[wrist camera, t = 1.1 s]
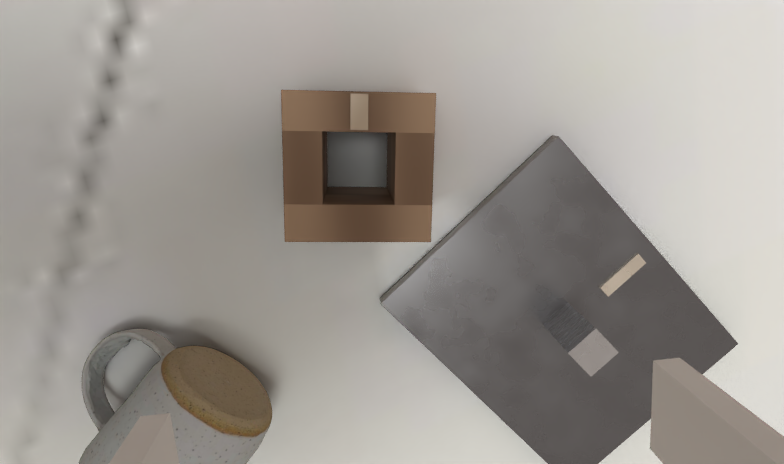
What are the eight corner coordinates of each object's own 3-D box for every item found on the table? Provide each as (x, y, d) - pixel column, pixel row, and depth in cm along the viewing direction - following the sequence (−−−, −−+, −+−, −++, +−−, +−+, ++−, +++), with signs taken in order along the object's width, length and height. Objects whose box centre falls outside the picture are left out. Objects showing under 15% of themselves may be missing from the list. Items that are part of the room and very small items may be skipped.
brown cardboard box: (296, 217, 32) (284, 243, 26) (294, 93, 31) (280, 89, 25) (416, 217, 33) (431, 243, 27) (420, 95, 31) (436, 93, 25)
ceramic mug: (289, 383, 35) (270, 458, 27) (216, 479, 36) (178, 577, 28) (140, 288, 33) (75, 340, 25) (68, 392, 34) (-15, 472, 26)
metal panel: (379, 298, 34) (384, 330, 29) (552, 135, 32) (588, 140, 27) (565, 476, 37) (598, 531, 33) (727, 337, 36) (786, 373, 31)
